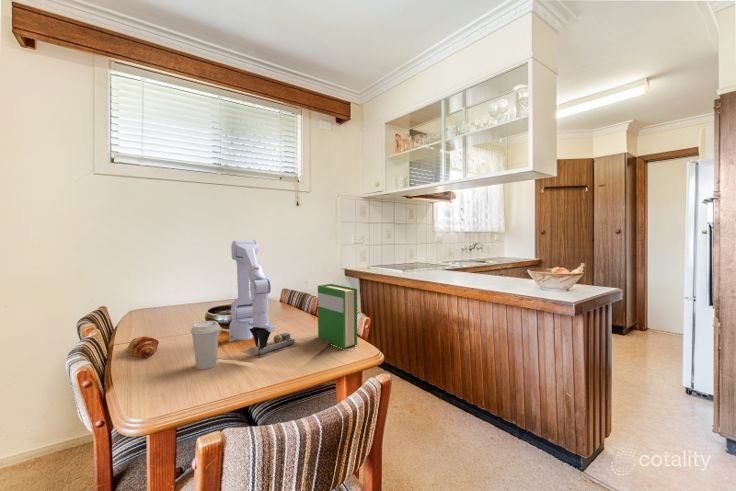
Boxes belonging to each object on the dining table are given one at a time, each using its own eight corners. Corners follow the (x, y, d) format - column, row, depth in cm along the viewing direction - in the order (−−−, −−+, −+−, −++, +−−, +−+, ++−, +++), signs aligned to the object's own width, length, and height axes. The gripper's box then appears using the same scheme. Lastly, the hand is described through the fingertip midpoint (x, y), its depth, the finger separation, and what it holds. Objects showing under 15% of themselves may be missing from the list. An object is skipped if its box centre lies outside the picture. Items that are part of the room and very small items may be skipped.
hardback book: (357, 345, 136) (357, 288, 135) (343, 350, 131) (343, 290, 130) (331, 336, 149) (331, 283, 148) (318, 339, 144) (317, 285, 143)
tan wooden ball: (271, 344, 135) (271, 335, 135) (276, 341, 138) (276, 333, 138) (279, 345, 134) (279, 336, 134) (284, 342, 137) (284, 333, 137)
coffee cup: (201, 373, 110) (200, 329, 109) (185, 367, 115) (184, 325, 114) (226, 363, 118) (226, 322, 117) (211, 358, 123) (210, 319, 122)
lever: (291, 342, 136) (291, 327, 136) (294, 344, 135) (294, 328, 135) (257, 354, 124) (256, 337, 124) (260, 355, 122) (260, 338, 122)
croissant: (130, 355, 136) (118, 341, 133) (154, 339, 142) (143, 324, 139) (141, 369, 121) (127, 353, 118) (168, 350, 127) (156, 334, 124)
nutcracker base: (283, 340, 143) (283, 331, 143) (301, 346, 135) (301, 336, 135) (241, 354, 127) (241, 343, 127) (258, 361, 120) (258, 350, 120)
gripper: (240, 310, 125) (241, 345, 125) (262, 316, 116) (262, 354, 116) (256, 307, 130) (257, 340, 131) (279, 312, 121) (279, 348, 122)
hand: (261, 346), depth 124 cm, fingers closed on lever, 2 cm apart
